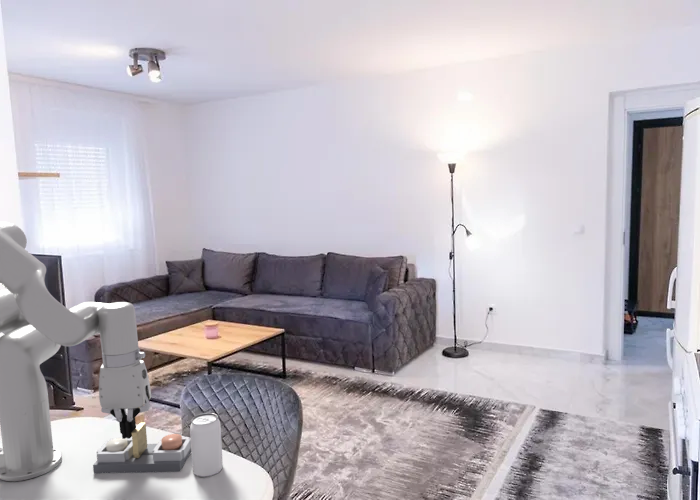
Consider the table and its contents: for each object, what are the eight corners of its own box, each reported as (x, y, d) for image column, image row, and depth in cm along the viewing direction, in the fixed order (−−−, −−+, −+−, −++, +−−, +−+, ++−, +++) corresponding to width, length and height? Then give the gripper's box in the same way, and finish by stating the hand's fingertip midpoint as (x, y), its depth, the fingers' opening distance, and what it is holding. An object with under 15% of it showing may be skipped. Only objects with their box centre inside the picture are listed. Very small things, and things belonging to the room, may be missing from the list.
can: (214, 479, 113) (211, 426, 111) (187, 476, 114) (183, 424, 112) (227, 463, 119) (225, 413, 117) (201, 461, 120) (198, 411, 119)
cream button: (103, 455, 118) (102, 447, 117) (112, 446, 122) (111, 438, 122) (123, 455, 118) (122, 447, 117) (131, 445, 122) (130, 437, 122)
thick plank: (133, 458, 118) (131, 432, 117) (142, 447, 122) (140, 422, 122) (138, 458, 118) (137, 432, 117) (147, 446, 122) (145, 422, 122)
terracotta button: (159, 451, 118) (158, 443, 117) (165, 442, 122) (165, 434, 122) (178, 451, 118) (178, 443, 117) (184, 441, 122) (184, 433, 122)
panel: (93, 473, 116) (92, 456, 115) (111, 452, 125) (110, 436, 124) (182, 471, 116) (181, 454, 115) (194, 450, 125) (193, 434, 124)
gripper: (160, 351, 121) (167, 426, 123) (95, 353, 121) (103, 429, 123) (148, 362, 113) (155, 442, 116) (79, 365, 113) (87, 445, 116)
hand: (128, 435), depth 119 cm, fingers closed
